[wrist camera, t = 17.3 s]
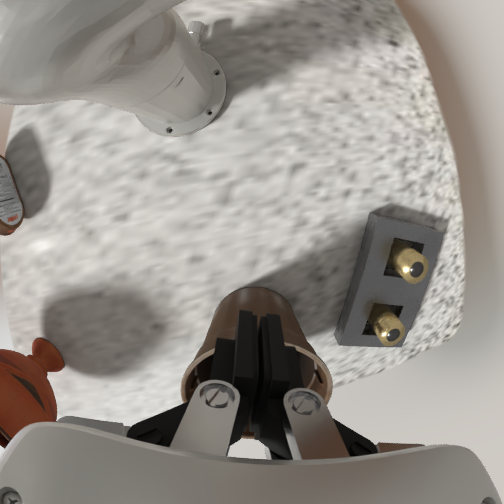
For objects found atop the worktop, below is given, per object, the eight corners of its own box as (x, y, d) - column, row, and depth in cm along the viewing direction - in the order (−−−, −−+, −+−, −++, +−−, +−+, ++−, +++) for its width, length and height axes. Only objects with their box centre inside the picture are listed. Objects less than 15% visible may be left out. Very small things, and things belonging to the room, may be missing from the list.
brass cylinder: (386, 237, 38) (409, 253, 32) (407, 241, 38) (432, 257, 32) (379, 262, 40) (400, 282, 33) (400, 266, 40) (423, 285, 33)
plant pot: (281, 252, 39) (300, 313, 24) (323, 337, 44) (349, 411, 28) (181, 299, 41) (150, 372, 26) (234, 372, 46) (228, 449, 31)
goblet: (8, 334, 45) (-50, 396, 22) (36, 301, 42) (-43, 377, 18) (60, 394, 51) (17, 466, 27) (99, 374, 47) (48, 469, 24)
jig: (369, 212, 37) (392, 224, 30) (433, 228, 38) (459, 241, 31) (334, 334, 43) (345, 362, 37) (394, 337, 44) (411, 361, 37)
